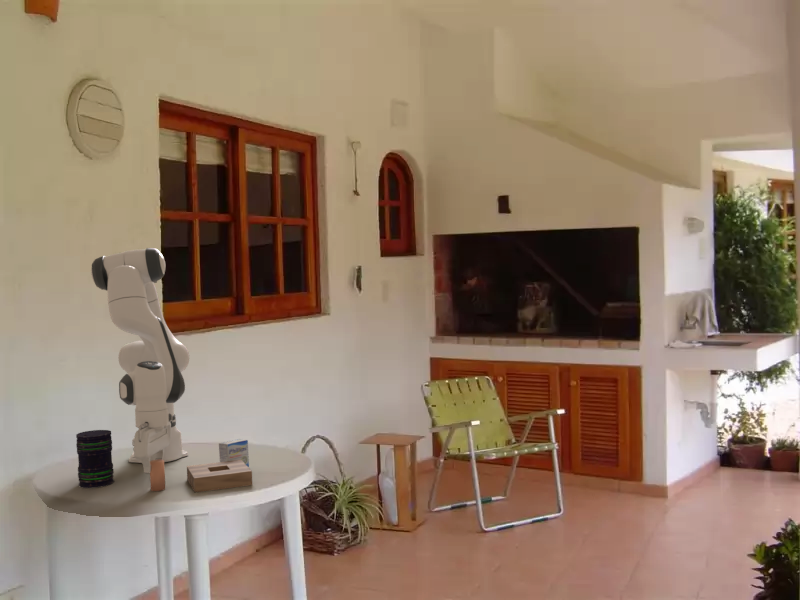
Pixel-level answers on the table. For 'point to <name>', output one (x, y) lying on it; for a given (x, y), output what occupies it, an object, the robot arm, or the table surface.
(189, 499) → the table surface
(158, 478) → the peg
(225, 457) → the medicine box
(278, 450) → the table surface
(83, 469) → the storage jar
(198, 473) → the socket block
